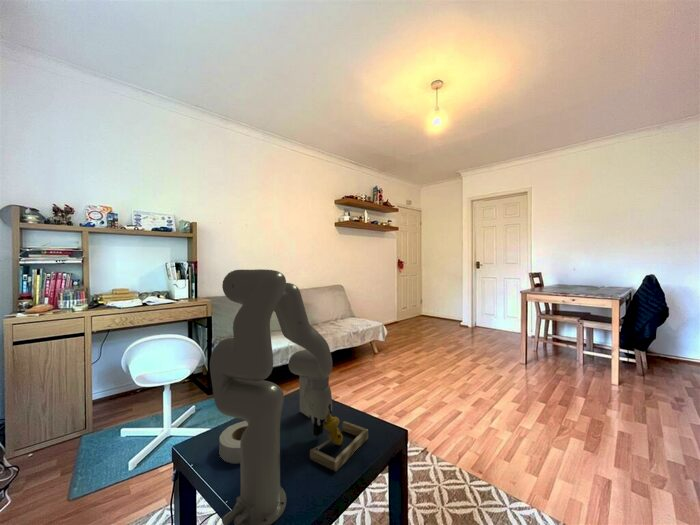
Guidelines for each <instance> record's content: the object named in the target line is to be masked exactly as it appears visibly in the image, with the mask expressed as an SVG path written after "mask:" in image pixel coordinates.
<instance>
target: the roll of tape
mask: <svg viewBox="0 0 700 525" xmlns="http://www.w3.org/2000/svg"><path fill="white" fill-rule="evenodd" d="M247 427H248V423H247V421H245V420H242V421H240V422H237V423H233V424H232V425H229V426H228V427H226V428H225V429H224V430H223V431H222V432H221V434H220V435H219V438H218V439H219V441H218V442H219V445H218V446H219V448H218V451H219V452H218V454H219V455H220V456H219V455H218V456H219V458H220V457H221V458H222V459H223V460H224V462H225V461H226V463H228V462H229V464H240V441H241V437H242V434H243V433H244V431H245V430H246V428H247ZM221 458H220V459H221ZM222 459H221V460H222ZM223 460H222V461H223Z"/></svg>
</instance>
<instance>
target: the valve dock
mask: <svg viewBox="0 0 700 525" xmlns="http://www.w3.org/2000/svg"><path fill="white" fill-rule="evenodd" d="M342 431H343V432H346V433H348V434H351V435H353V436H356V437H355V438H354V439H353V440H352V441H351V442H350V443H349V444H348V446H346V448H344V449H343V450H342V451H341V452H340V453H339V454H338V455H337V456H336V458H335V457H333V456H330V455H329V454H326V453H324V452H322V451H320V450H319V451H318V449H314V448H311V449H310V450H309V459H310V460H311V461H312V462H315V463H317V464H320V465H322V466H323V467H326V468H328V470H331V471H333V472H335V473H336V472H338V470H340V468H342V466H343V465H345V463H346V462H347V461H348V460H350V459H351V457H352V456H354V454H355V453H356V452H357V451H358V450H359V449H360V448H361V446H363V444H364V443H365V442H366V441H367V440H368V439H369V429H367V428H365V427H362V426H359V425H357V424H354V423H351V422H349V421H346V420H344V421H342ZM359 447H360V448H359ZM358 448H359V449H358ZM357 449H358V450H357ZM356 450H357V451H356ZM355 451H356V452H355ZM354 452H355V453H354Z"/></svg>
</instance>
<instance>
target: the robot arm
mask: <svg viewBox="0 0 700 525" xmlns="http://www.w3.org/2000/svg"><path fill="white" fill-rule="evenodd" d="M221 285H222V286H221V287H222V291H223V292H222V293H223V294H224V296H225V298H227V299H228V300H230V301H231V302H234V303H237V304H239V305H241V307H240V308H239V309H238V311H237V313H236V315H235V316H234V320H233V322H232V331H233V335H232V336H233V337H227V338H224V339H221V340H220V341H219V342H218V343H216V345H215V346H214V348H213V350H212V352H211V355H210V359H209V374H210V380H211V387H212V394H213V399H214V403H215V407H216V408H217V410H218V412H220V413H221V414H223V415H225V416H227V417H228V416H229V417H232V418H236V419H240V420H242V421H247V423H248V427H247V428H246V430H245V431H244V433H243V434H242V437H241V441H240V463H239V465H240V469H239V470H240V495H238V496H237V497H236V503H235V505H234V506H233V509H231V510H230V511H228V512H227V513H226V514H225V515H224V516H222V518H221V522H222V525H229V524H230V523H231V522H232V521H233V524H234V525H272V524H273V523H275V522H276V521H277V520H278V519H279V518H281V516H282V515H283V513H284V511H285V509H286V505H287V493H286V492H285V490H284V488H283V487H282V486H281V441H280V440H281V431H280V430H281V429H280V428H281V420H282V419H281V418H282V412H283V406H284V400H285V396H284V392H283V390H282V387H280V386H279V385H278V384H277V383H274V382H272V381H269V380H265V379H268V378H269V376H270V375H271V374H272V371H273V368H274V354H273V353H274V352H273V345H272V337H271V335H272V334H271V318H272V317H273V316H272V315H273V313H275V315H276V318H277V322H278V324H279V327H280V330H281V333H282V335H283V337H284V338H286V339H287V340H289V341H290V342H292V343H294V344H295V345H297V346H299V347H301V348H303V349H301V350H299V351H296V352H294V353H292V355H291V356H290V358H289V359H288V364H287V365H288V370H289V371H290V372H291V373H292V374H294V375H297V376H300V375H301V376H306V379H307V384H306V386H305V391H304V400H303V411H304V412H305V413H306V414H308V415H309V416H310V417H311V418H310V419H311V423H312V424H313V436H315V437H319V436H320V435H321V434H323V432H324V423H325V422H327V416H329V415H330V414H331V415H332V413H333V397H332V390H331V386H330V385H329V384H330V383H329V382H330V380H329V379H330V375H331V373H332V372H333V371H332V370H333V357H332V353H331V349H330V346H329V343H328V342H327V340H326V339H325V338H324V337H323V335H321V334H320V332H318V330H316V328H314V327H313V325H311V324H310V322H309V318H308V315H307V314H308V313H307V312H306V308H305V304H304V300H303V297H302V296H303V295H302V294H301V291H300V289H299V287H298V286H297V285H296V284H294V283H291V282H287V280H286V276H285V275H284V274H283V273H282V272H280V271H278V270H274V269H259V268H258V269H234V270H232V271H230V272H228V273H227V274H226V275H225V276H224V278H223V281H222V284H221Z"/></svg>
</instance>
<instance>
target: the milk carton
mask: <svg viewBox="0 0 700 525" xmlns="http://www.w3.org/2000/svg"><path fill="white" fill-rule="evenodd" d="M298 376H299V412H300V413H301V414H303V415H304V416H306V417H307V418H308V419H311V417H310V416H309V415H308V414H306V413H305V412H304V411H303V400H304V391H305V386H306V384H307V379H306V376H301V375H298Z"/></svg>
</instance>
